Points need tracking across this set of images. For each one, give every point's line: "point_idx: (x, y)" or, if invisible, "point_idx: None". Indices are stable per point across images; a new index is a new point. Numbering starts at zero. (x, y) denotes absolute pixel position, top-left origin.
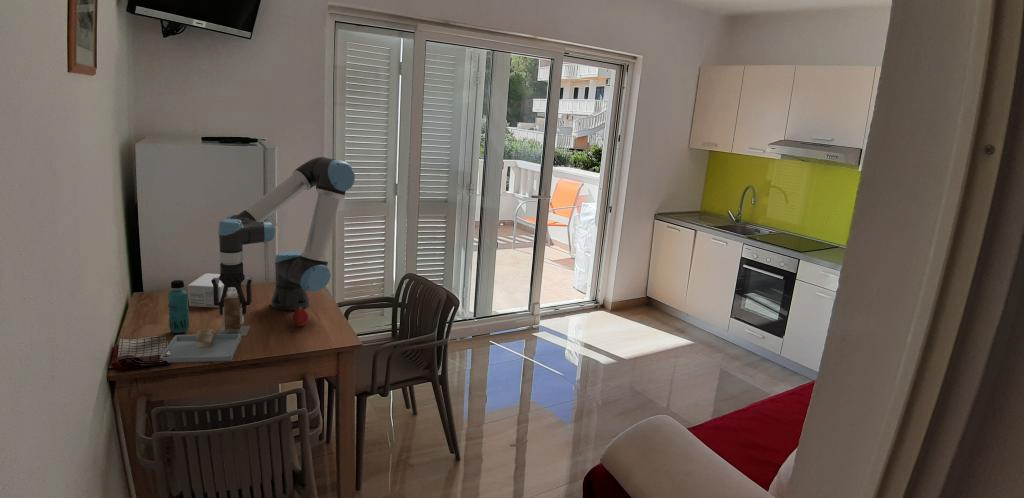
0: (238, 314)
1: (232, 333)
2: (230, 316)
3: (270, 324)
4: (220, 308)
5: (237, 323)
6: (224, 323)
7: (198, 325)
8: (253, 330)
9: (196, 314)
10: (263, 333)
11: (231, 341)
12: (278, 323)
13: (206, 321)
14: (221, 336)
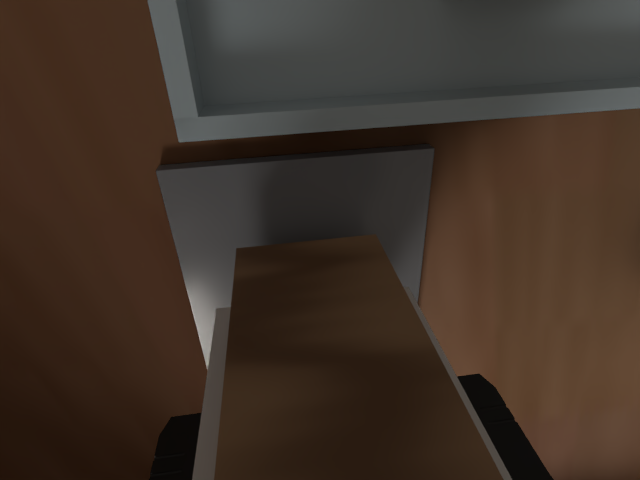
0: (235, 382)
1: (304, 224)
2: (348, 344)
3: (82, 416)
4: (528, 461)
5: (256, 286)
6: None
7: (552, 354)
8: (161, 314)
9: (553, 466)
10: (39, 264)
11: (260, 19)
12: (31, 435)
13: (506, 406)
14: (384, 99)
